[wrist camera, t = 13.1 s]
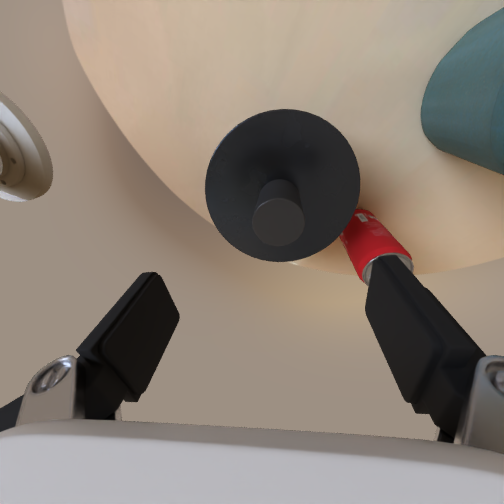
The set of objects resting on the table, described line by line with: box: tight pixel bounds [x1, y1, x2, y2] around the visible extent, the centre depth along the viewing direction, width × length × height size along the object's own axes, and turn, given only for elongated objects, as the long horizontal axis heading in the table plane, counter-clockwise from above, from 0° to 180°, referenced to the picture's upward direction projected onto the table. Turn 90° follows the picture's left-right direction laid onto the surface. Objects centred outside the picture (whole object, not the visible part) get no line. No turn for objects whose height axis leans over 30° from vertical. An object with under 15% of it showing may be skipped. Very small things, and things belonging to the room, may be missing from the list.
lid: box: [205, 109, 360, 262], centre depth 19 cm, size 15×15×7 cm
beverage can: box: [339, 209, 414, 286], centre depth 27 cm, size 5×5×12 cm
